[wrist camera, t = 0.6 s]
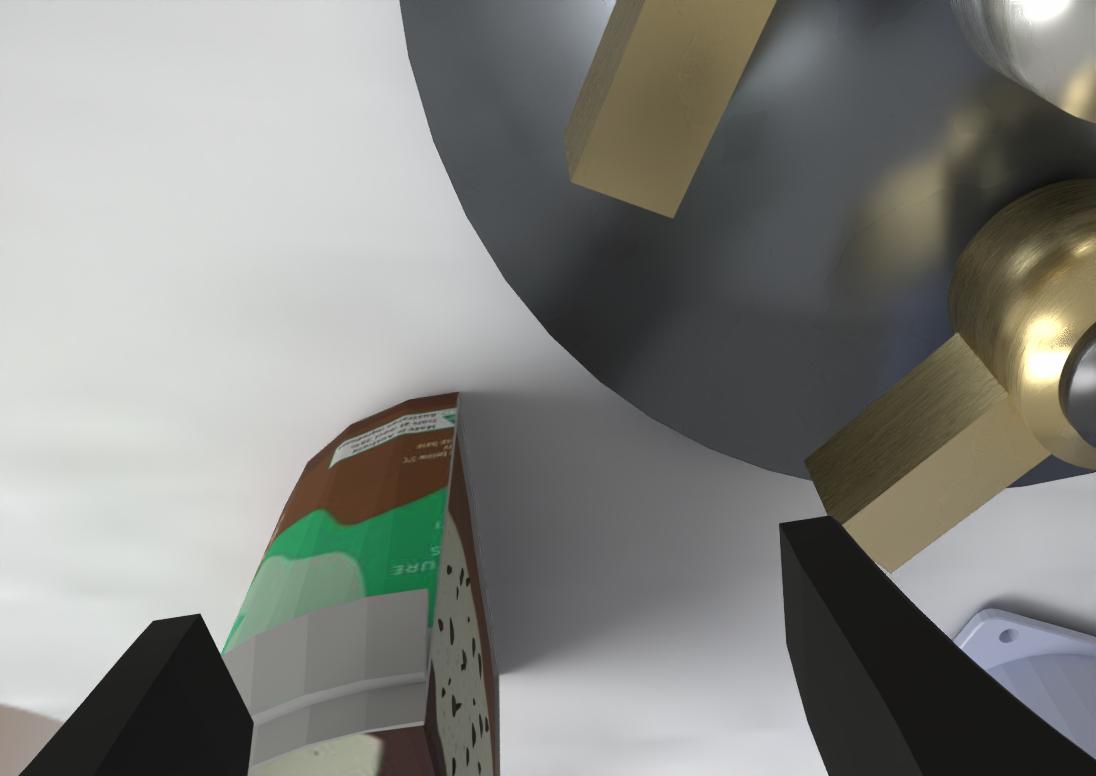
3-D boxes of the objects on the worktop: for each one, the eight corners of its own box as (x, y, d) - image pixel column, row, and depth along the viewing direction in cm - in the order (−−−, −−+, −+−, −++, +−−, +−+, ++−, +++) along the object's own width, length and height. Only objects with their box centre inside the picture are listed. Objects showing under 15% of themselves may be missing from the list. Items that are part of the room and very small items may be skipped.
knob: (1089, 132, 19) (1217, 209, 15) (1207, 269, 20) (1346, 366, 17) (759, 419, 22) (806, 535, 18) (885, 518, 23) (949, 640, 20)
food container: (171, 357, 22) (-41, 732, 13) (450, 334, 22) (418, 694, 13) (290, 729, 28) (199, 1140, 20) (504, 711, 28) (506, 1116, 20)
